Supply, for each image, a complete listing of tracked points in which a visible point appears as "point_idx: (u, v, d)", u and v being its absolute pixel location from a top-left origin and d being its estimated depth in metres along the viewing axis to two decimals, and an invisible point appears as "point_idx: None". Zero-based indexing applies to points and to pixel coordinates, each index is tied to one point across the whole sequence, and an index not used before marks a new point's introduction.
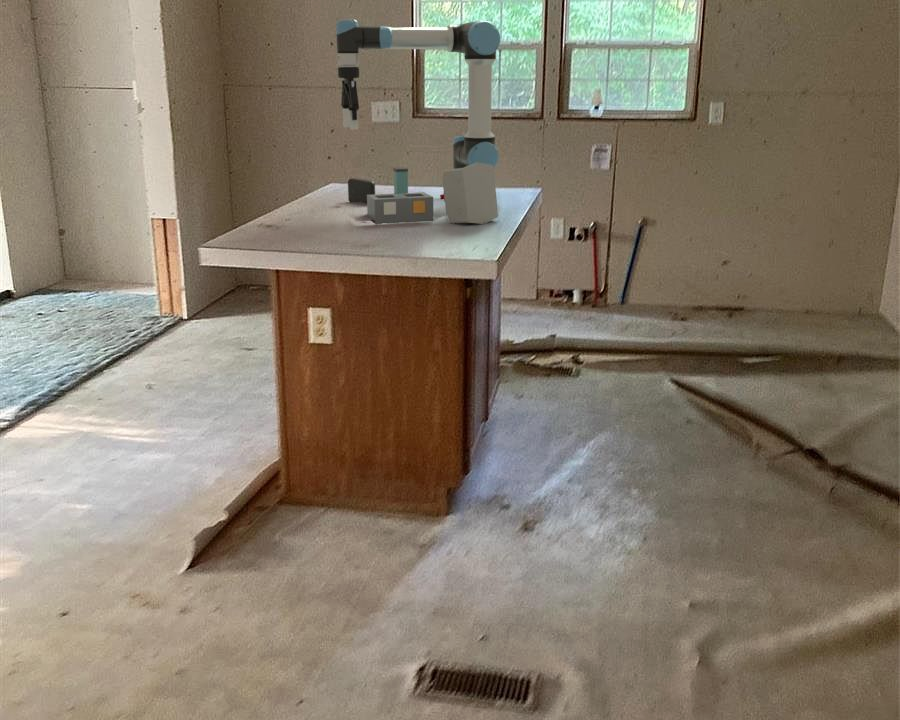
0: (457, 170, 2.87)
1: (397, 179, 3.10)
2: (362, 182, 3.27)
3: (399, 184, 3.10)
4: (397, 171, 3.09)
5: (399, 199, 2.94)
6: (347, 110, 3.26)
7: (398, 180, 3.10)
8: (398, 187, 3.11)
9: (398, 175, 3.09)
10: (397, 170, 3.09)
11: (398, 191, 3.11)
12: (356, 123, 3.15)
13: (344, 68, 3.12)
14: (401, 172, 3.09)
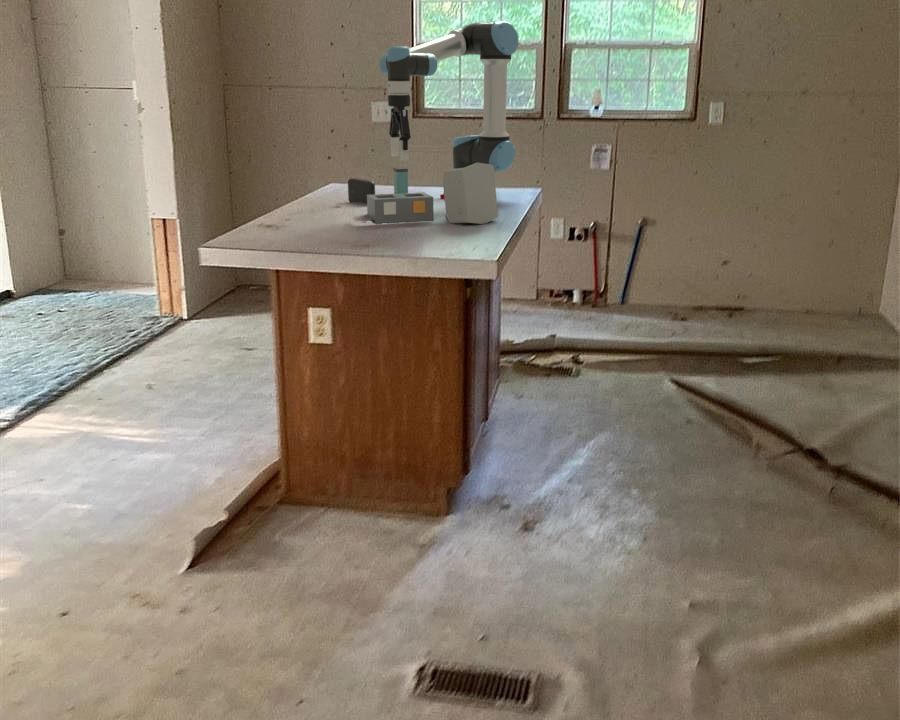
0: (457, 170, 2.87)
1: (397, 179, 3.10)
2: (362, 182, 3.27)
3: (399, 184, 3.10)
4: (397, 171, 3.09)
5: (399, 199, 2.94)
6: (395, 139, 3.14)
7: (398, 180, 3.10)
8: (398, 187, 3.11)
9: (398, 175, 3.09)
10: (397, 170, 3.09)
11: (398, 191, 3.11)
12: (407, 153, 3.03)
13: (395, 96, 3.00)
14: (401, 172, 3.09)
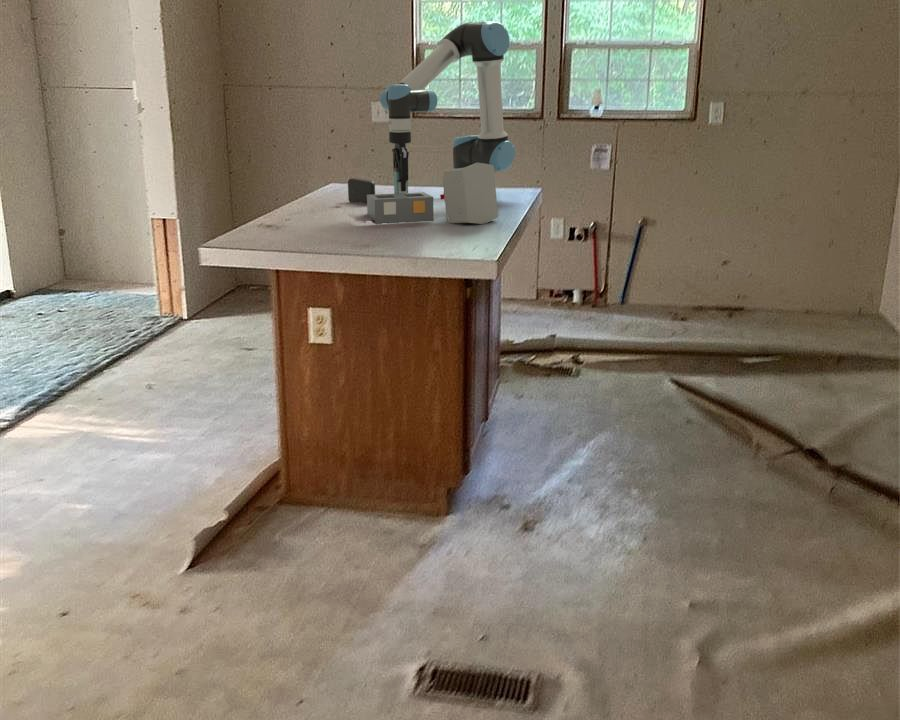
0: (457, 170, 2.87)
1: (397, 179, 3.10)
2: (362, 182, 3.27)
3: None
4: (397, 171, 3.09)
5: (399, 199, 2.94)
6: None
7: None
8: (398, 187, 3.11)
9: (398, 175, 3.09)
10: (397, 170, 3.09)
11: (398, 191, 3.11)
12: None
13: (396, 133, 3.04)
14: None
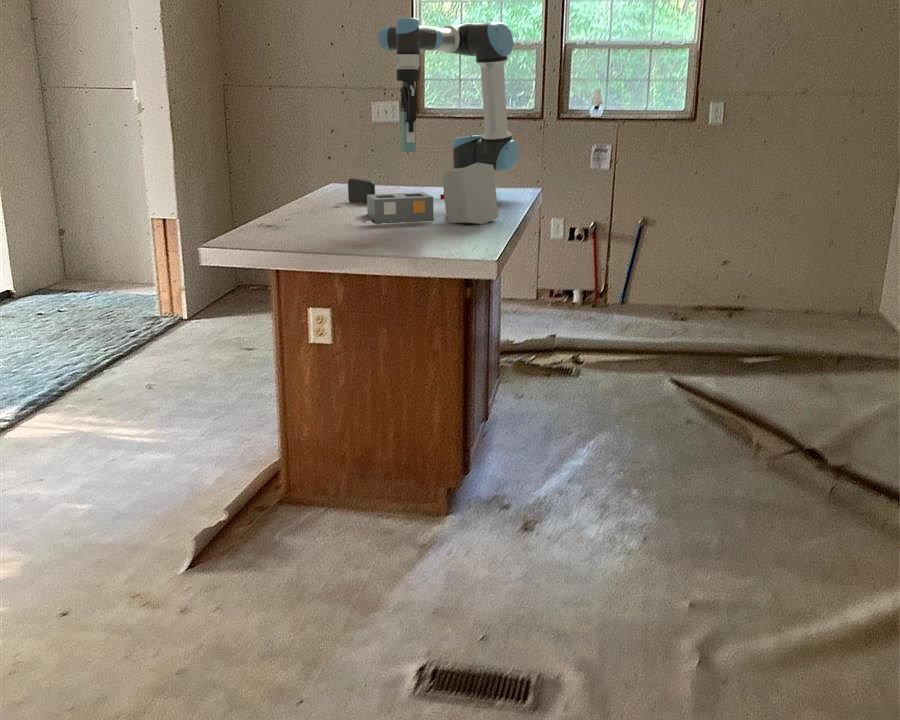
0: (457, 170, 2.87)
1: (404, 119, 2.94)
2: (362, 182, 3.27)
3: None
4: (404, 111, 2.93)
5: (399, 199, 2.94)
6: None
7: None
8: (405, 128, 2.95)
9: (405, 115, 2.93)
10: (404, 110, 2.93)
11: (405, 132, 2.95)
12: (412, 136, 2.95)
13: (404, 70, 2.88)
14: None
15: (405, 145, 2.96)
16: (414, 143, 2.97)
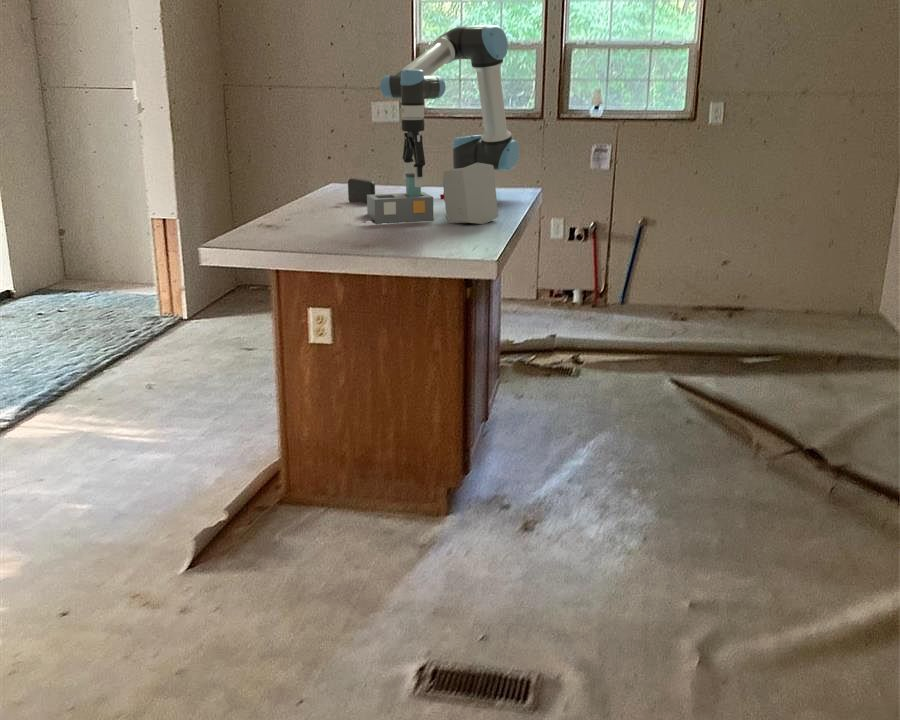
0: (457, 170, 2.87)
1: (409, 185, 2.98)
2: (362, 182, 3.27)
3: (412, 190, 2.99)
4: (409, 176, 2.97)
5: (399, 199, 2.94)
6: (409, 164, 3.04)
7: (410, 186, 2.98)
8: (411, 193, 2.99)
9: (410, 180, 2.98)
10: (409, 175, 2.97)
11: None
12: (421, 180, 2.93)
13: (409, 121, 2.90)
14: (414, 177, 2.98)
15: None
16: None
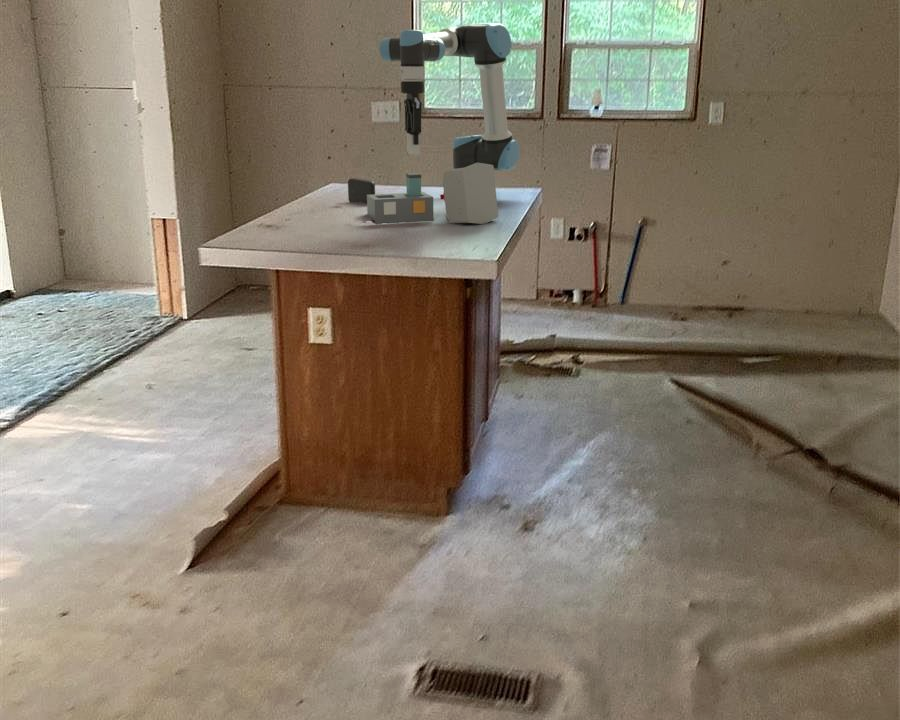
0: (457, 170, 2.87)
1: (410, 185, 2.98)
2: (362, 182, 3.27)
3: (412, 191, 2.98)
4: (410, 177, 2.97)
5: (399, 199, 2.94)
6: None
7: (410, 187, 2.98)
8: (411, 194, 2.99)
9: (411, 181, 2.97)
10: (410, 176, 2.97)
11: None
12: (417, 148, 2.94)
13: (408, 82, 2.86)
14: (414, 178, 2.97)
15: None
16: None
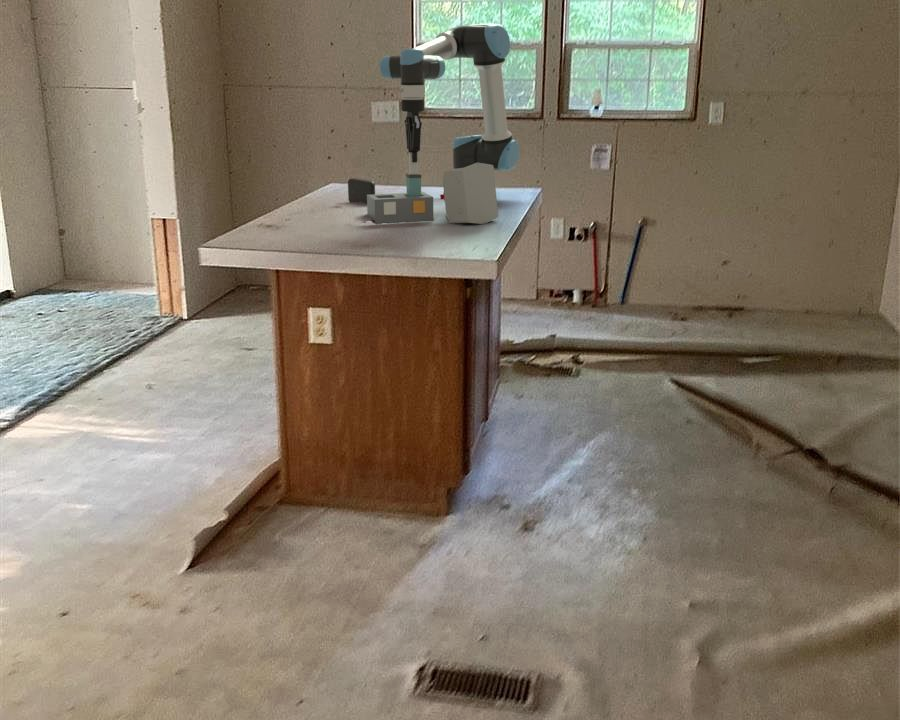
0: (457, 170, 2.87)
1: (410, 185, 2.98)
2: (362, 182, 3.27)
3: (412, 191, 2.98)
4: (410, 177, 2.97)
5: (399, 199, 2.94)
6: None
7: (410, 187, 2.98)
8: (411, 194, 2.99)
9: (411, 181, 2.97)
10: (410, 176, 2.97)
11: None
12: (416, 165, 2.97)
13: (409, 101, 2.88)
14: (414, 178, 2.97)
15: None
16: None
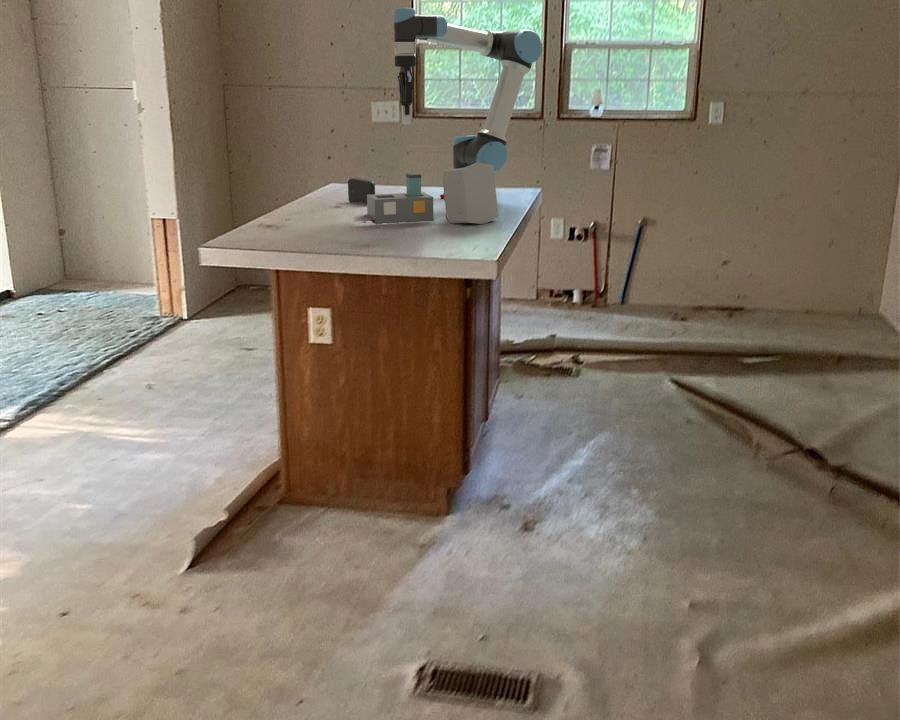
0: (457, 170, 2.87)
1: (410, 185, 2.98)
2: (362, 182, 3.27)
3: (412, 191, 2.98)
4: (410, 177, 2.97)
5: (399, 199, 2.94)
6: None
7: (410, 187, 2.98)
8: (411, 194, 2.99)
9: (411, 181, 2.97)
10: (410, 176, 2.97)
11: None
12: (408, 118, 3.20)
13: (401, 57, 3.10)
14: (414, 178, 2.97)
15: None
16: None
